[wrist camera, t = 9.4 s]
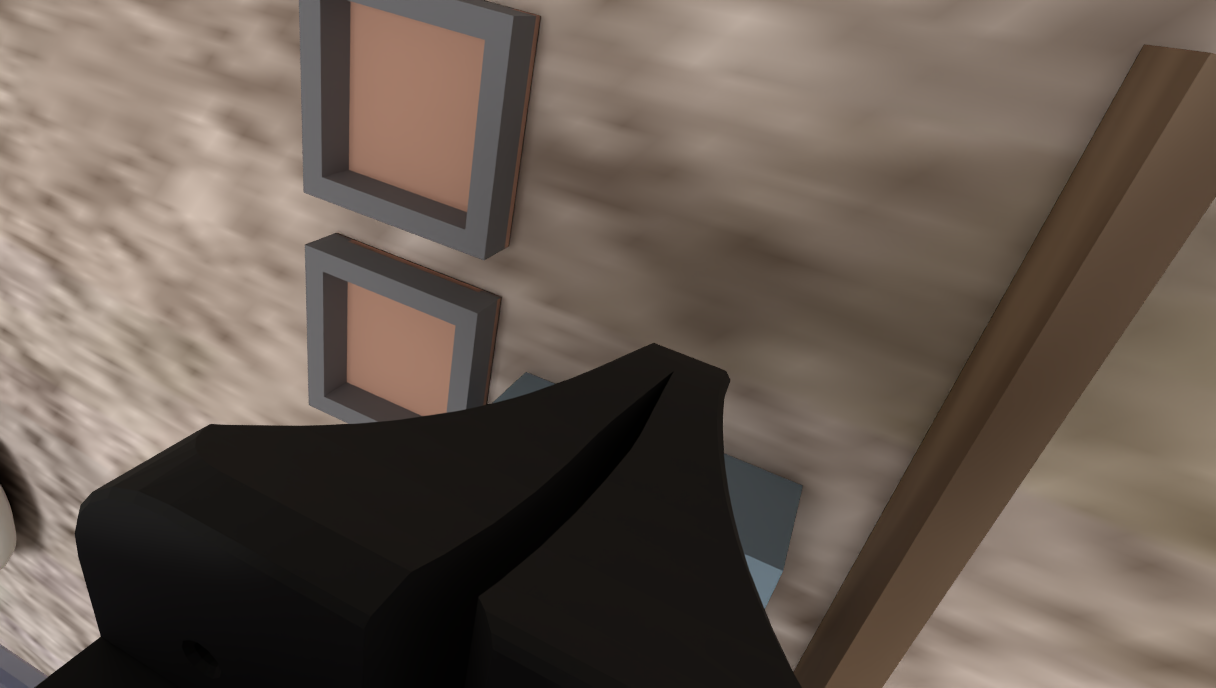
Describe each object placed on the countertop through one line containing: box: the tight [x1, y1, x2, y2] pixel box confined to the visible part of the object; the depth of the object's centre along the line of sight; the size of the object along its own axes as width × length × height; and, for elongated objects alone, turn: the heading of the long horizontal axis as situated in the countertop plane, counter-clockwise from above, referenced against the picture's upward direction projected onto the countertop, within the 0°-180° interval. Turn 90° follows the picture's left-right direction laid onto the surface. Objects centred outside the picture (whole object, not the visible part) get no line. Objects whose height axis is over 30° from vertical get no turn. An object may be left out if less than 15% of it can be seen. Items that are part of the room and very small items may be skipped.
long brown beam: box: [793, 45, 1216, 688], centre depth 17 cm, size 12×22×3 cm, turn 168°
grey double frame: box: [299, 0, 540, 424], centre depth 18 cm, size 6×12×1 cm, turn 168°
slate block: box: [493, 372, 803, 609], centre depth 19 cm, size 8×8×4 cm
